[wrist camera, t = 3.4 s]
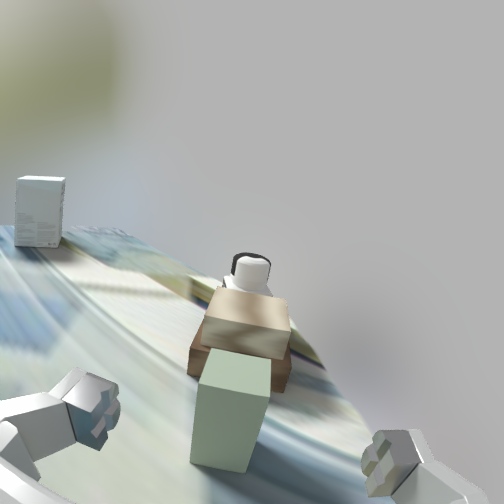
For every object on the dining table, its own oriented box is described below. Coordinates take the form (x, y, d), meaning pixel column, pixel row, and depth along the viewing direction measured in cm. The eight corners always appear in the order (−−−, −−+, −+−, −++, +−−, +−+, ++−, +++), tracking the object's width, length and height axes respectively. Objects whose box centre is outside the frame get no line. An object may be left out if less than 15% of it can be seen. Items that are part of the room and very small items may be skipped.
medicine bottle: (217, 311, 54) (228, 247, 51) (256, 315, 56) (269, 252, 53) (221, 331, 47) (233, 259, 44) (264, 335, 49) (280, 265, 46)
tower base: (186, 377, 35) (189, 347, 34) (205, 333, 47) (209, 307, 46) (282, 395, 35) (291, 367, 34) (280, 348, 46) (287, 323, 45)
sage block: (189, 462, 22) (198, 383, 19) (200, 426, 27) (211, 347, 24) (245, 473, 22) (270, 397, 19) (249, 436, 27) (271, 359, 24)
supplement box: (62, 236, 78) (66, 177, 74) (58, 248, 67) (62, 180, 63) (23, 234, 71) (26, 175, 67) (13, 246, 60) (16, 178, 56)
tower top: (200, 344, 35) (204, 315, 34) (213, 311, 45) (217, 286, 44) (282, 360, 35) (290, 331, 34) (279, 323, 45) (285, 299, 44)
